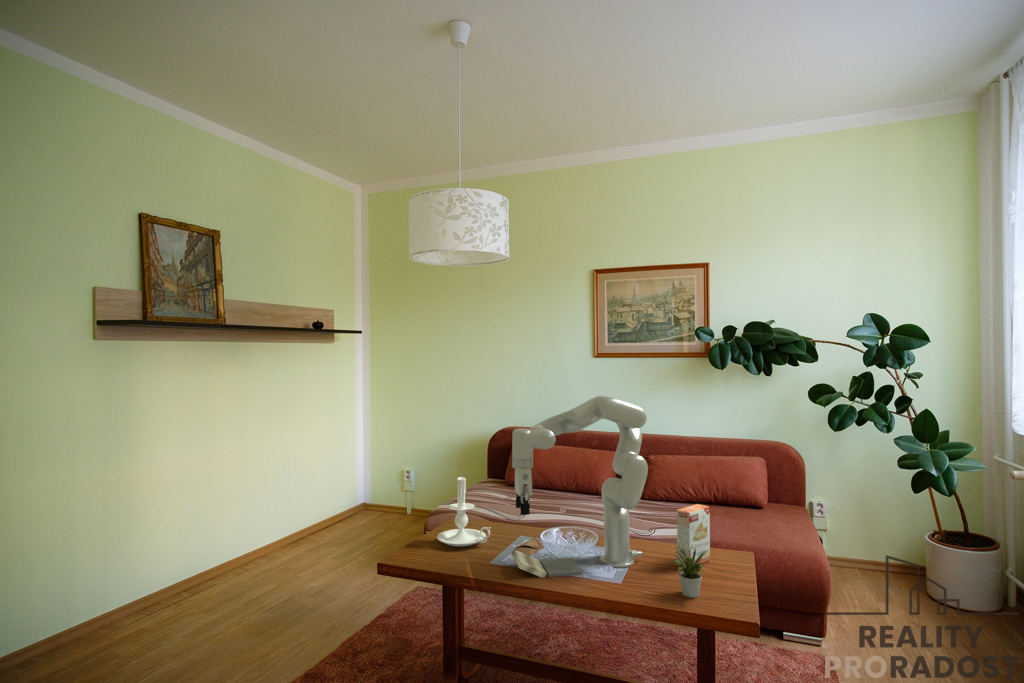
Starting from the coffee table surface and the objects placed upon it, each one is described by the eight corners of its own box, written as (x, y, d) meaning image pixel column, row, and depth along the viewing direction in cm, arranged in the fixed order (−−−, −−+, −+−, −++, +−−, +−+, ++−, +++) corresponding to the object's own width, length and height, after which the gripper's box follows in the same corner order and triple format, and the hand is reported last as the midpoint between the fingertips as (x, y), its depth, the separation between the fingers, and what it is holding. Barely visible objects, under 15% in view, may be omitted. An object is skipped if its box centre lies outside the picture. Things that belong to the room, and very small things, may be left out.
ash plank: (538, 565, 209) (540, 560, 209) (547, 579, 195) (549, 574, 196) (512, 554, 208) (514, 549, 208) (519, 568, 194) (521, 562, 194)
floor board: (571, 563, 211) (571, 557, 212) (582, 577, 198) (582, 571, 198) (540, 565, 209) (540, 559, 209) (548, 579, 196) (548, 573, 196)
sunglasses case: (531, 560, 215) (523, 543, 217) (517, 566, 218) (509, 550, 219) (551, 546, 230) (543, 531, 232) (538, 553, 233) (530, 538, 235)
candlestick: (477, 556, 220) (477, 485, 221) (427, 546, 231) (426, 479, 232) (503, 541, 238) (502, 475, 239) (455, 533, 250) (454, 470, 251)
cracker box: (690, 570, 204) (689, 512, 204) (676, 565, 208) (675, 509, 209) (711, 561, 212) (710, 506, 213) (697, 557, 217) (696, 503, 218)
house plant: (658, 596, 181) (657, 545, 182) (671, 582, 193) (670, 534, 193) (702, 607, 173) (701, 553, 174) (714, 591, 185) (713, 541, 185)
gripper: (537, 467, 195) (537, 517, 194) (528, 458, 212) (528, 504, 211) (516, 467, 193) (516, 518, 193) (508, 459, 211) (508, 505, 210)
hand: (522, 511), depth 202 cm, fingers open, 8 cm apart
